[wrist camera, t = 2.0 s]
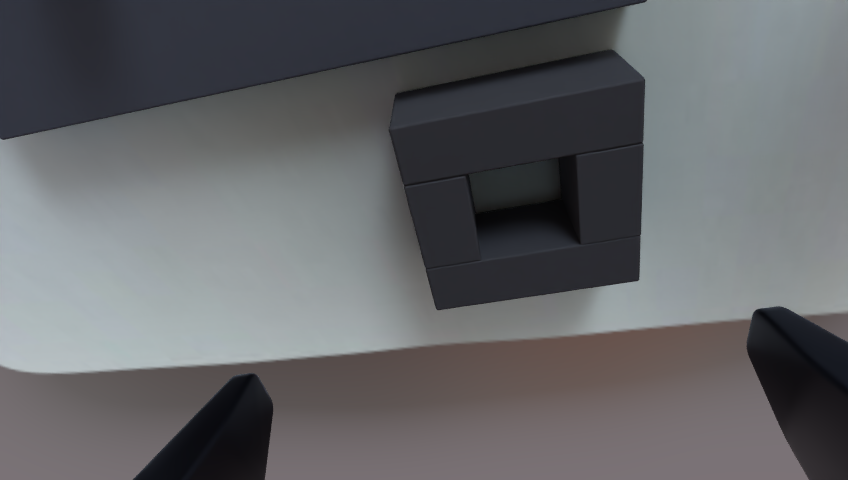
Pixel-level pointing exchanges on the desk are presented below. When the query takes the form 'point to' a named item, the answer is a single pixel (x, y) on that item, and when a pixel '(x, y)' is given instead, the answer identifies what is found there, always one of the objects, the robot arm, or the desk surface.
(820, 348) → the robot arm
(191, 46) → the base pad
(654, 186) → the desk surface
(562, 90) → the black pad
